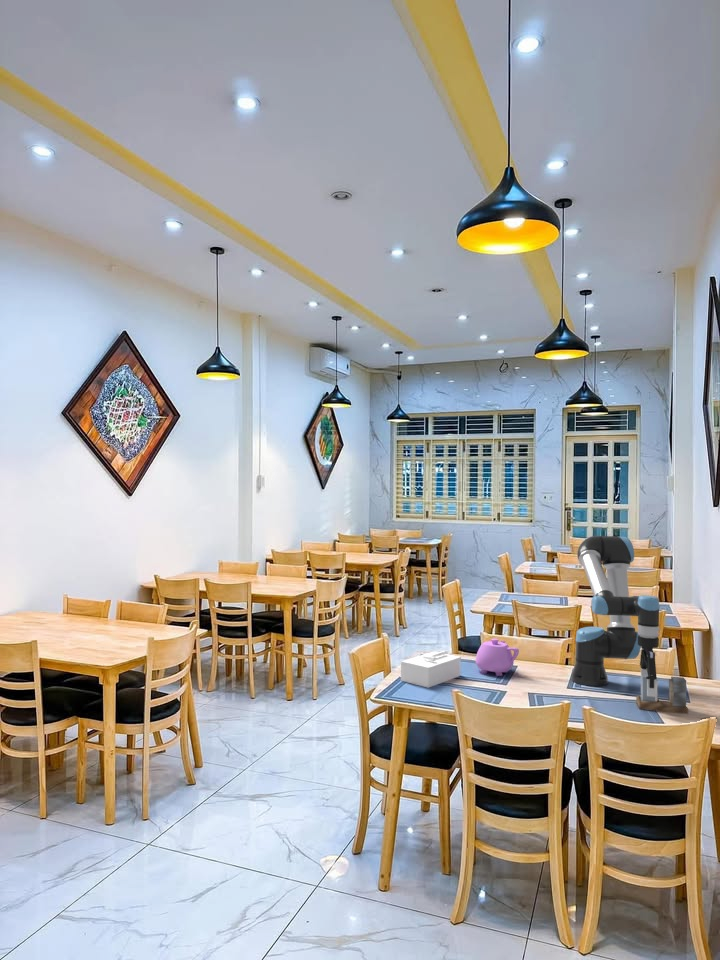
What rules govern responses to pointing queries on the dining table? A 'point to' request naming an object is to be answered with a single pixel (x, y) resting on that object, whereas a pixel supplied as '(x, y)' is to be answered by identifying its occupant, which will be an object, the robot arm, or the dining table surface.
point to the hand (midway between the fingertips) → (647, 691)
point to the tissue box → (430, 669)
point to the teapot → (495, 657)
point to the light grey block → (644, 689)
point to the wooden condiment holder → (675, 698)
